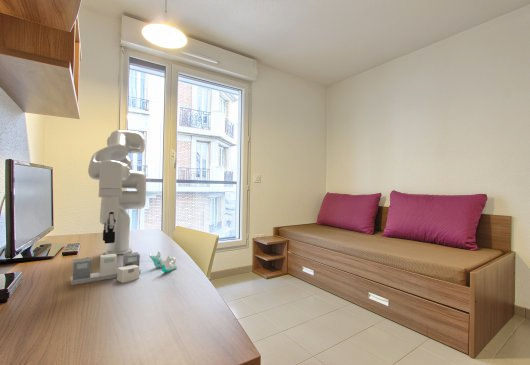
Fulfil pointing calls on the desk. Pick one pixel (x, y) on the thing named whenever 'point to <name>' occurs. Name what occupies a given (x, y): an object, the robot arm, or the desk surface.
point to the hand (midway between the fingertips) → (108, 241)
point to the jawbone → (164, 262)
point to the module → (108, 264)
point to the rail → (84, 268)
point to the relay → (128, 273)
